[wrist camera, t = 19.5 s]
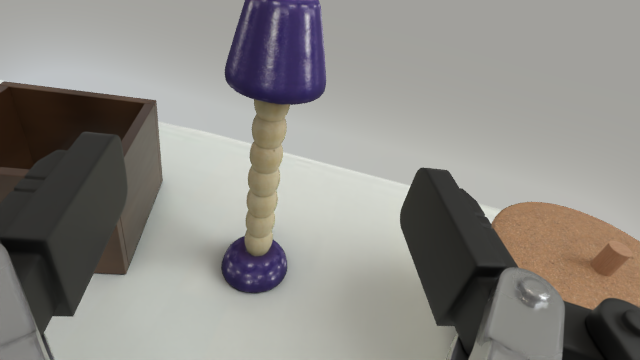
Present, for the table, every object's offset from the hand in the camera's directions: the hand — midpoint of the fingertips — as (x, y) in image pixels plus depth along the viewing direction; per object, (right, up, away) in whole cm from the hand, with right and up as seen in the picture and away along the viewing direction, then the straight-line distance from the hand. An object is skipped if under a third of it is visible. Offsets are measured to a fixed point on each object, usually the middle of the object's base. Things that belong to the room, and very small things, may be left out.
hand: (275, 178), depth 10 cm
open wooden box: (-15, -2, +15) cm, 21 cm away
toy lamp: (-3, -6, +15) cm, 16 cm away
